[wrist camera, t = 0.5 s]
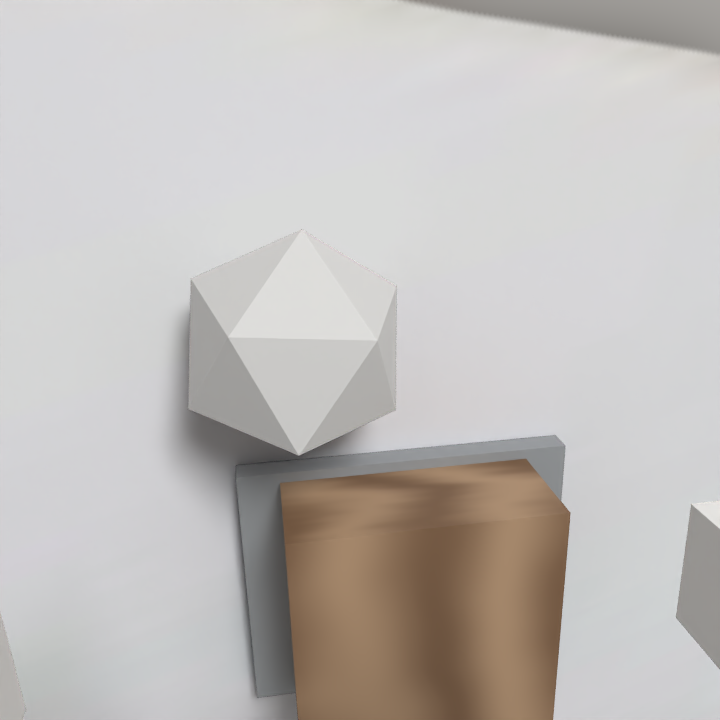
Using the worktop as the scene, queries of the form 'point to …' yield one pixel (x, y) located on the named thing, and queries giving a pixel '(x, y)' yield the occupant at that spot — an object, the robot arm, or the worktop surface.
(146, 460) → the worktop surface
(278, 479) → the base plate
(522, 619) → the walnut brick
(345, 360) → the die
